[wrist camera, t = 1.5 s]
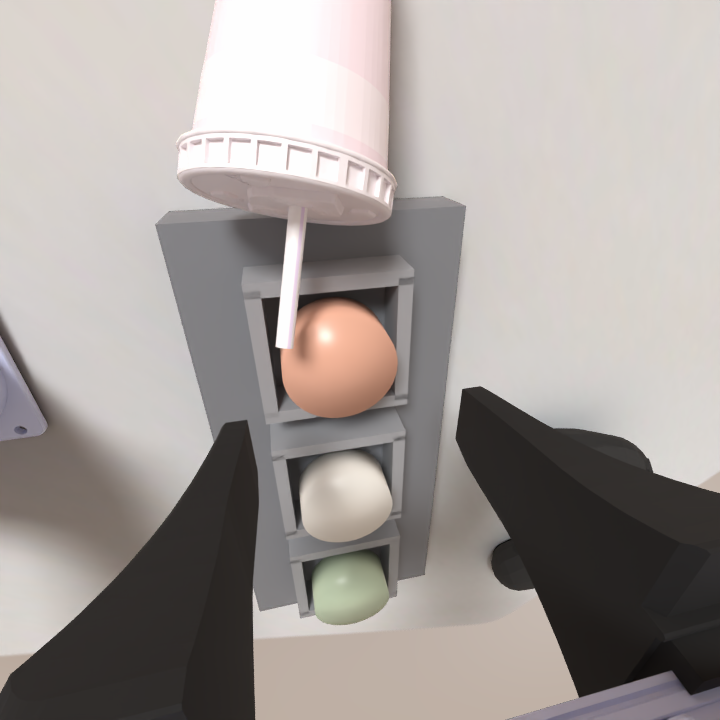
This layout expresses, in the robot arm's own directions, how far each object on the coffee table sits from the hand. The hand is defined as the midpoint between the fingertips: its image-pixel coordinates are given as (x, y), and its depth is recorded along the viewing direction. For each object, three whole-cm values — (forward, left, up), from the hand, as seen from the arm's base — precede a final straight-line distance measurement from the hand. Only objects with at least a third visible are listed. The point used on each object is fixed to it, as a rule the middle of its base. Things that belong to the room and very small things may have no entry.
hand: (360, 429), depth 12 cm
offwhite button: (0, -8, -5) cm, 10 cm away
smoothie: (+1, +15, -7) cm, 17 cm away
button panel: (0, -8, -9) cm, 12 cm away
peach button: (0, 0, -5) cm, 5 cm away
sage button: (0, -16, -5) cm, 17 cm away
